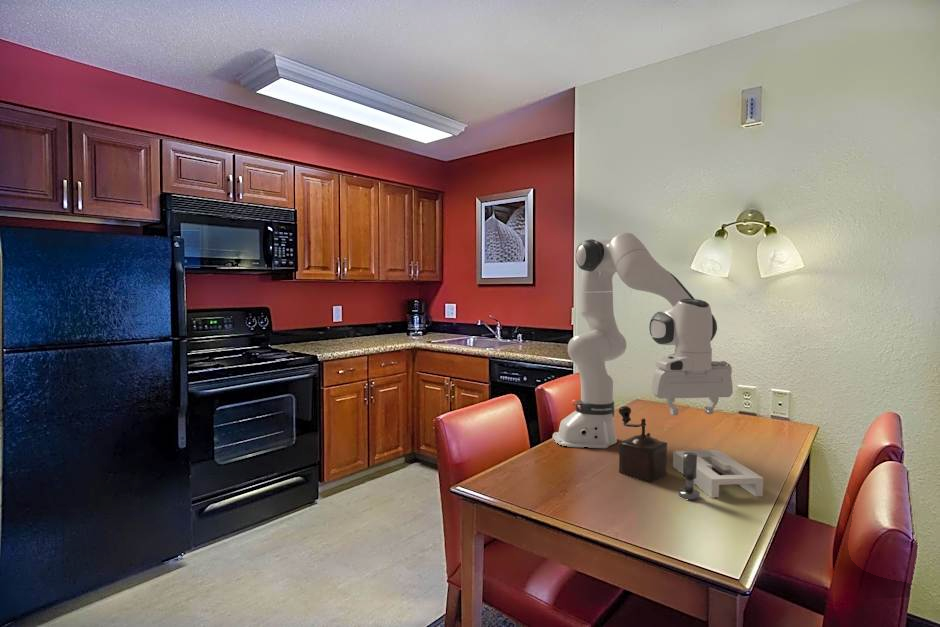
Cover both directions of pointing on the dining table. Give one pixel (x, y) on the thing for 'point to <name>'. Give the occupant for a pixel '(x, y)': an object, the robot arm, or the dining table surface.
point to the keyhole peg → (689, 477)
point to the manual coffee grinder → (641, 453)
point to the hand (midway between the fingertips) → (691, 414)
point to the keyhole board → (723, 464)
